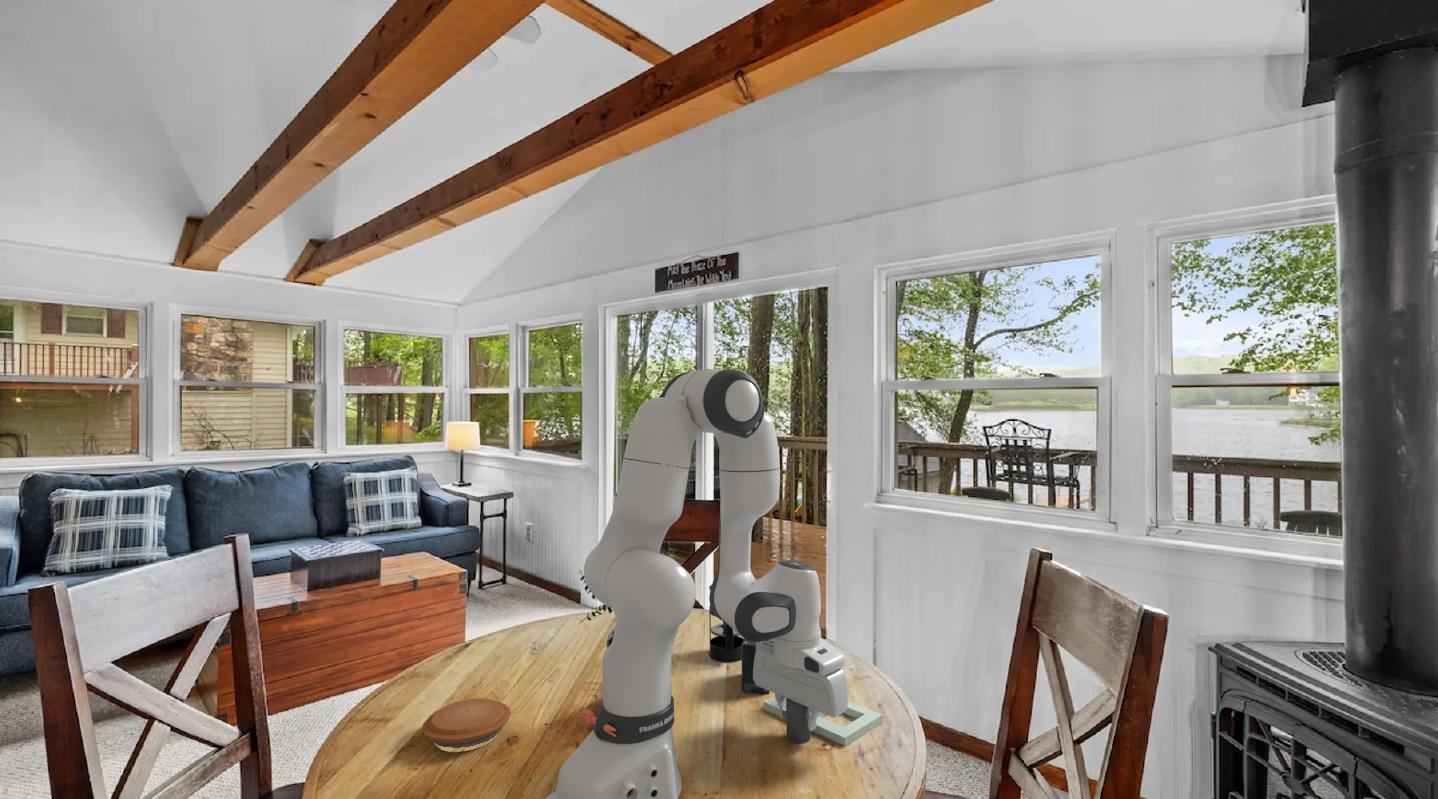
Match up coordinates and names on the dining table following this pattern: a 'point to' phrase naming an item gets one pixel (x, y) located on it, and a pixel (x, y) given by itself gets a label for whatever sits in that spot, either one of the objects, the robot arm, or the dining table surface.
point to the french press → (724, 642)
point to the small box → (749, 668)
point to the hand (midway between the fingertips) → (798, 723)
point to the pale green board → (836, 732)
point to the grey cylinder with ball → (796, 722)
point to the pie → (466, 722)
